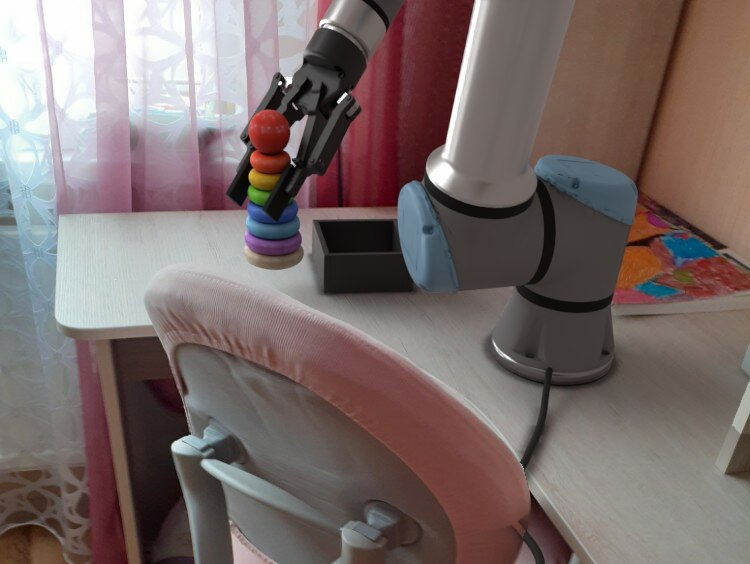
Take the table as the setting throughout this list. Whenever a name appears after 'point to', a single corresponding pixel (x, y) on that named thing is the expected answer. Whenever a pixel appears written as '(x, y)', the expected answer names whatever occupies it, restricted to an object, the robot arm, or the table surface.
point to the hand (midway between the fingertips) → (251, 207)
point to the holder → (359, 256)
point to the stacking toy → (264, 236)
